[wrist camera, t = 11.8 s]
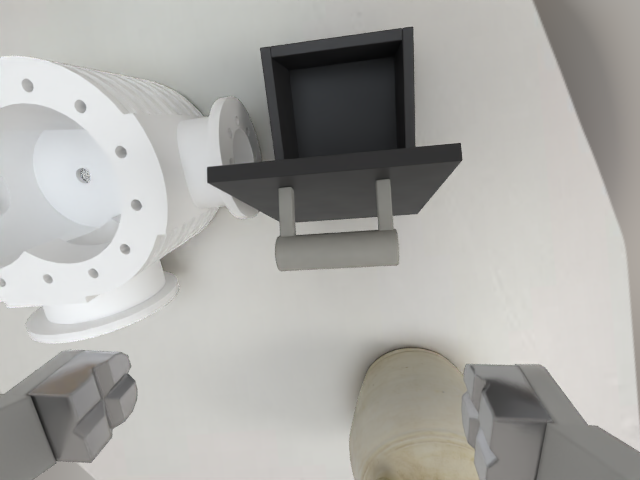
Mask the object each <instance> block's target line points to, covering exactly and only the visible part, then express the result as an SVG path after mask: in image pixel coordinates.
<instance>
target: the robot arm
mask: <svg viewBox="0 0 640 480" xmlns="http://www.w3.org/2000/svg"><path fill="white" fill-rule="evenodd" d="M130 368H131V363H130V360H129V357H128V355H126V354H124V353H122V352H109V351H92V350H87V351H85V350H66V351H62V352H60V353H59V354H58V355H56V356H55V357H54V358H52V359H51V360H49V361H48V362H47V363H45V364H44V365H43V366H41V367H40V368H39V369H37V370H36V371H35V372H33V373H32V374H31V375H29V376H28V377H27V378H25V379H24V380H23V381H21V382H20V383H18V384H17V385H16V386H14V387H13V388H12V389H10V390H9V391H8V392H6V393H5V394H0V480H33V479H35V478H36V477H38V476H39V475H40V474H42V473H43V472H45V471H46V470H47V469H49V468H50V467H52V466H53V465H54V464H56V461H65V462H85V463H92V461H93V460H94V459H95V458H96V456H97V455H98V454H99V453H100V451H101V450H102V449H103V448H104V447H105V445H106V444H107V443H108V442H109V440H110V439H111V438H112V430H113V428H115V427H117V426H118V425H120V424H122V423H123V422H125V421H126V419H127V418H128V417H129V415H130V414H131V413H132V412H133V409H134V406H135V404H136V401H137V386H136V382H135V380H134V379H133V378H132V377H131V376H130V375H129V374H128V372H129V370H130ZM463 380H464V382H465V385H466V388H467V391H466V392H465V393H464V394H463V395H462V403H461V412H462V423H463V428H464V433H465V436H466V439H467V443H468V444H469V445H471V446H472V447H473V448H474V449H475V455H474V465H475V468H476V471H477V474H478V477H479V480H640V452H639V451H637V450H636V449H634V448H632V447H631V446H629V445H627V444H626V443H624V442H622V441H621V440H619V439H618V438H616V437H614V436H613V435H611V434H609V433H608V432H606V431H605V430H603V429H601V428H600V427H598V426H592V425H588V424H587V423H586V422H585V420H584V419H583V418H582V416H581V415H580V414H579V412H578V411H577V410H576V408H575V407H574V406H573V404H572V403H571V402H570V400H569V399H568V398H567V396H566V395H565V394H564V392H563V391H562V390H561V388H560V387H559V386H558V384H557V383H556V382H555V380H554V379H553V378H552V376H551V375H550V373H549V372H548V371H547V369H546V368H545V367H543V366H542V365H539V364H515V365H490V364H466V366H465V369H464V377H463Z"/></svg>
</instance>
